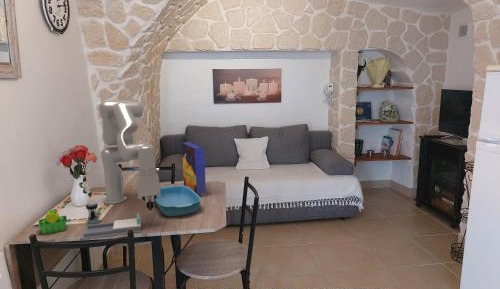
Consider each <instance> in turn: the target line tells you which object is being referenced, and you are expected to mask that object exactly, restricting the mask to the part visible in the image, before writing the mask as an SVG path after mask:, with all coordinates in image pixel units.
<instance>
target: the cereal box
mask: <svg viewBox="0 0 500 289" xmlns="http://www.w3.org/2000/svg"><path fill="white" fill-rule="evenodd" d="M181 149H182V150H181V151H182V152H181V153H182V171H183V173H182V174H183V186H187V187H189V188H191V189H192V190H193V191H194V192H195V193H196V194H197V195H198V196H199V197H200V198H203V197H202V196H205V197H207V190H206V189H207V186H206V185H207V184H206V183H207V182H206V162H205V160H206V159H205V147H204V146H202V145H200V144H199V145H198V144H197V143H194V142H191V141H186V142H182V143H181Z"/></svg>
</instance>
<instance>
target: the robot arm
mask: <svg viewBox="0 0 500 289" xmlns="http://www.w3.org/2000/svg"><path fill="white" fill-rule="evenodd" d="M98 111H99V114H100V117H101V121H102V138H103V143H104V144H105V145H106V146H107V147H105V148H103V149H102V150H101V151H100V159H101V162H102V168H103V173H104V174H103V175H104V185H105V186H104V187H105V198H104V199H103V203H104V204H106V205H107V204H109V205H115V204H121V203H124V202H125V201H127V200H128V196H126V195H124V182H123V180H124V179H123V170H122V168H121V167H120V165H118V164H119V163H124V162H130V161H136V160H137V162H138V164H137V165H138V172H139V174H138V175H137V180H136V182H137V183H136V186H137V187H136V188H137V199H138V200H143V201H144V202H145V203H146V209H148V211H153V209H154V208H155V207H154V202H155V199H156V198H157V197H160V196H161V193H160V188H161V183H160V176H159V173H158V172H160V168H159V167H157V166H156V154H155V152H156V151H155V147H154V145H152V144H149V143H148V142H137V143H134V133H135V132H137V131H138V128H139V124H138V121H137V118H142V116H143V115H144V107H143V105H142V104H141V102H139V101H136V100H133V99H125V100H122V99H121V100H119V99H118V100H105V101H102V102H101V103H100V104H99V106H98ZM149 197H150V199H149Z"/></svg>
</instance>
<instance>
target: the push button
mask: <svg viewBox="0 0 500 289" xmlns="http://www.w3.org/2000/svg"><path fill="white" fill-rule="evenodd" d="M85 208H86V210H88V212H87V213H88V217H87V223H88V224H87V225H92V224H95V223H97V224H99V222H101V221H102V220H103V217H99V215H97V213H98V212H97V208H98V203H96V201H90V202H88V203H87V204H85Z"/></svg>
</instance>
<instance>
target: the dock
mask: <svg viewBox="0 0 500 289" xmlns="http://www.w3.org/2000/svg"><path fill="white" fill-rule="evenodd" d="M113 226H114V221H113V222H112V221H111V222H103V223H97V224H95V223H92V224H87V225H86V226H85V227H84V229H83V231H82V233H81V235H80V237H79V240H80V241H83V240H84V241H85V240H91V239H99V238H107V237H117V236H122V235H123V236H124V235H128V234H127V231H128V230H129V229H133V230H134V232H135V233H134V234H140V233H142V225H141V226H140V227H132V228H124V229H115V230H113Z"/></svg>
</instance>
